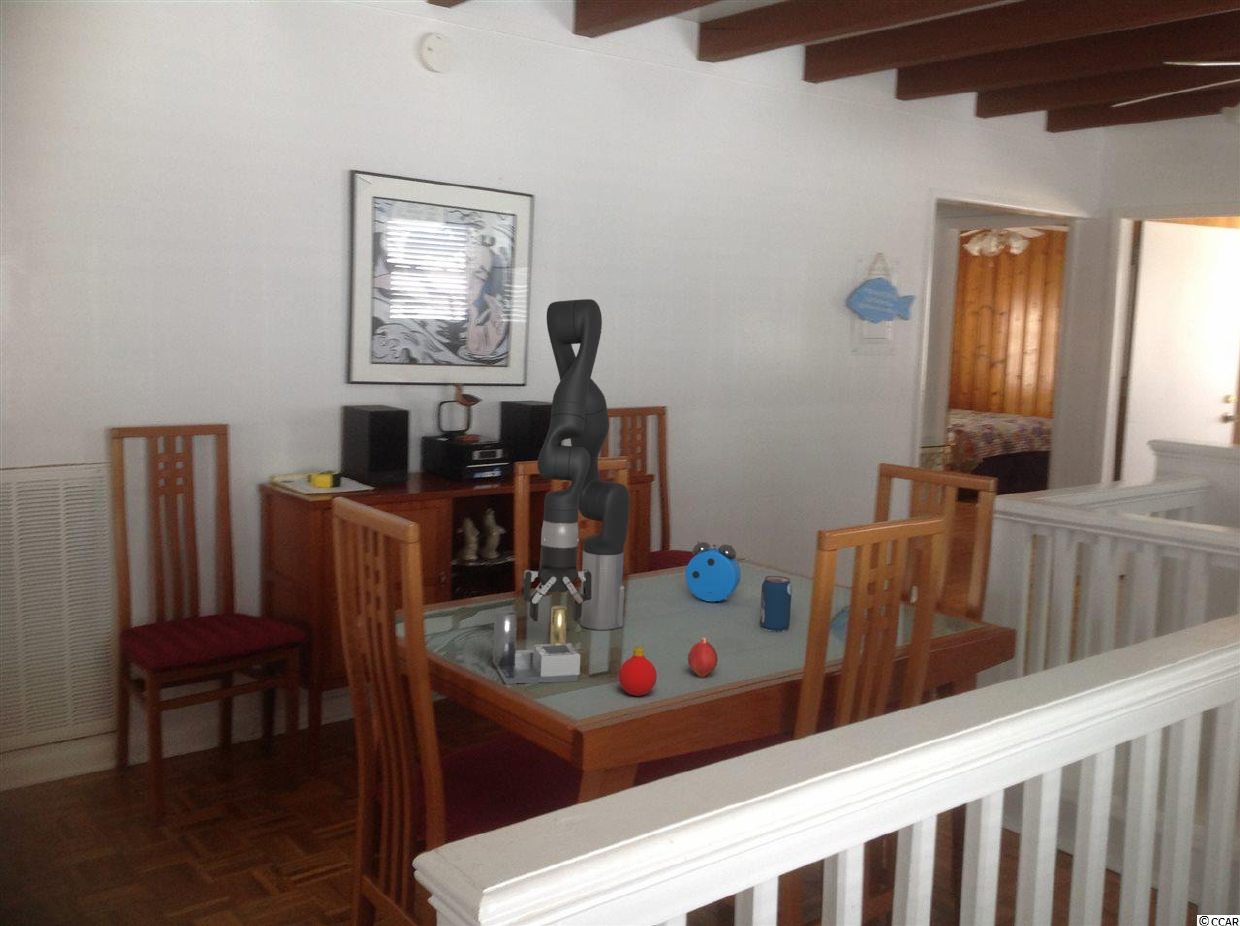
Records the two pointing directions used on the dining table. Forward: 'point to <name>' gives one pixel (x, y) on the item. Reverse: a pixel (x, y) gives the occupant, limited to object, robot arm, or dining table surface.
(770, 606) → the soda can
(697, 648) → the onion
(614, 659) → the dining table surface
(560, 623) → the gold cylinder
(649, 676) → the christmas ornament
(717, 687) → the dining table surface
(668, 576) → the dining table surface
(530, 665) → the grey desk organizer
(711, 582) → the alarm clock
